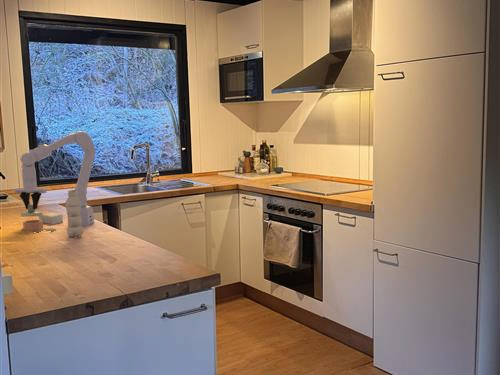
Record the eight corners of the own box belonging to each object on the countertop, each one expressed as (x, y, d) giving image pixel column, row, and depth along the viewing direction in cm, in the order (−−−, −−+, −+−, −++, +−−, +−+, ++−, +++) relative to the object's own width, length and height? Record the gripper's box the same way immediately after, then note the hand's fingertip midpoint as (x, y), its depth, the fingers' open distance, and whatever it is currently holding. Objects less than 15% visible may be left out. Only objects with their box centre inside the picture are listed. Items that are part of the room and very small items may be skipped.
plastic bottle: (85, 235, 227) (82, 189, 224) (80, 238, 220) (77, 191, 218) (70, 235, 227) (67, 189, 224) (65, 239, 220) (62, 192, 217)
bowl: (46, 227, 244) (45, 219, 243) (35, 231, 236) (35, 223, 236) (30, 226, 245) (30, 219, 245) (20, 230, 238) (19, 223, 237)
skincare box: (49, 211, 260) (62, 214, 252) (50, 219, 261) (63, 223, 253) (38, 213, 255) (51, 216, 248) (38, 222, 256) (51, 225, 248)
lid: (46, 214, 241) (45, 204, 240) (28, 217, 233) (27, 206, 233) (34, 213, 246) (34, 202, 245) (16, 215, 238) (16, 205, 238)
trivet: (61, 229, 238) (60, 228, 238) (48, 235, 228) (48, 233, 228) (41, 229, 240) (41, 228, 240) (27, 234, 230) (27, 233, 230)
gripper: (49, 178, 241) (51, 207, 243) (19, 178, 242) (21, 207, 244) (41, 180, 234) (43, 210, 236) (10, 180, 235) (13, 209, 237)
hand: (31, 208), depth 239 cm, fingers closed on lid, 3 cm apart
